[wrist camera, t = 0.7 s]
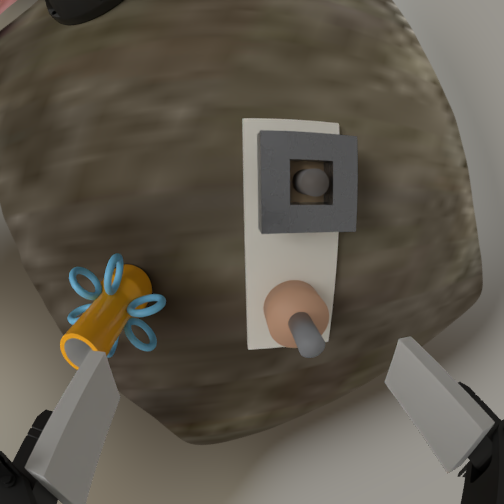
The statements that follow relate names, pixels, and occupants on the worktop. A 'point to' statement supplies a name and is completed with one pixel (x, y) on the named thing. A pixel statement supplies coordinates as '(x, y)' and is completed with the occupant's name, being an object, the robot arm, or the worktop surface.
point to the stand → (307, 181)
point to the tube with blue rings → (110, 311)
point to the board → (280, 241)
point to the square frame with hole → (278, 182)
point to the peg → (297, 317)
